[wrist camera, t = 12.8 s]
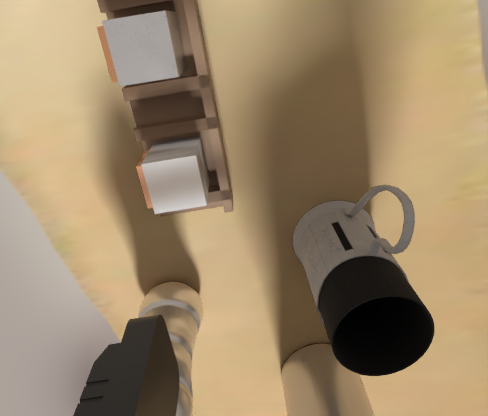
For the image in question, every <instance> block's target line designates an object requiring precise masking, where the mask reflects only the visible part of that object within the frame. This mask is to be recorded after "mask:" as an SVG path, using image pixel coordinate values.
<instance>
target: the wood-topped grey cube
mask: <svg viewBox="0 0 488 416" xmlns="http://www.w3.org/2000/svg"><path fill="white" fill-rule="evenodd" d="M102 23H103V26H101V27H97V29H98V33H99V37H100V40H101V44H102V48H103V51H104V55H105V59H106V62H107V66H108V70H109V73H110V77H111V81H112V82H116V81H118V83H119V86H125V85H132V84H138V83H144V82H150V81H157V80H163V79H169V78H175V77H179V76H180V75H181V74H182V73H183V71H184V70H185V69H186V62H185V57H184V52H183V47H182V42H181V37H180V32H179V27H178V22H177V17H176V12H172V11H166V10H165V11H159V12H153V13H147V14H140V15H134V16H128V17H122V18H116V19H110V20H104V21H102Z"/></svg>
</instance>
